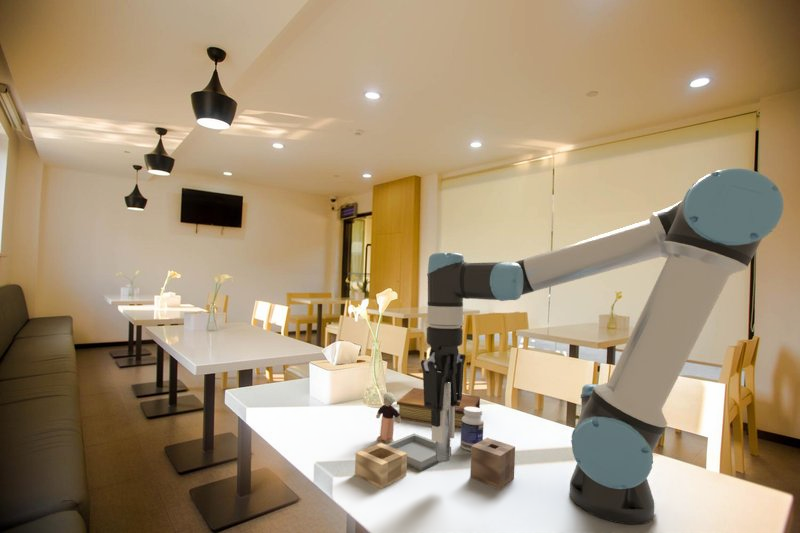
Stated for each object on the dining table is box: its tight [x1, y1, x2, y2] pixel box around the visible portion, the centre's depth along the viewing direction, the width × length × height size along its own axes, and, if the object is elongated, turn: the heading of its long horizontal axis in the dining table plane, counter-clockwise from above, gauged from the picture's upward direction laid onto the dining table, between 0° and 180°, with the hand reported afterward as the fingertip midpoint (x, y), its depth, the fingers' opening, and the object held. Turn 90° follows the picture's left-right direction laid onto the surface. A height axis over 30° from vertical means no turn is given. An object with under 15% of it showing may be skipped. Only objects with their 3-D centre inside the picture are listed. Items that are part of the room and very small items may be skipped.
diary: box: [396, 387, 481, 430], centre depth 133 cm, size 23×19×6 cm
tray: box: [386, 433, 452, 472], centre depth 101 cm, size 12×12×2 cm
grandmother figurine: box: [375, 392, 402, 444], centre depth 110 cm, size 8×4×13 cm, turn 70°
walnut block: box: [469, 437, 516, 490], centre depth 91 cm, size 7×7×7 cm
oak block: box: [354, 442, 408, 489], centre depth 90 cm, size 8×8×5 cm
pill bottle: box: [460, 407, 484, 452], centre depth 108 cm, size 6×6×10 cm
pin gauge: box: [436, 380, 451, 463], centre depth 86 cm, size 3×3×16 cm
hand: (443, 438), depth 86 cm, fingers closed on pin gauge, 3 cm apart
